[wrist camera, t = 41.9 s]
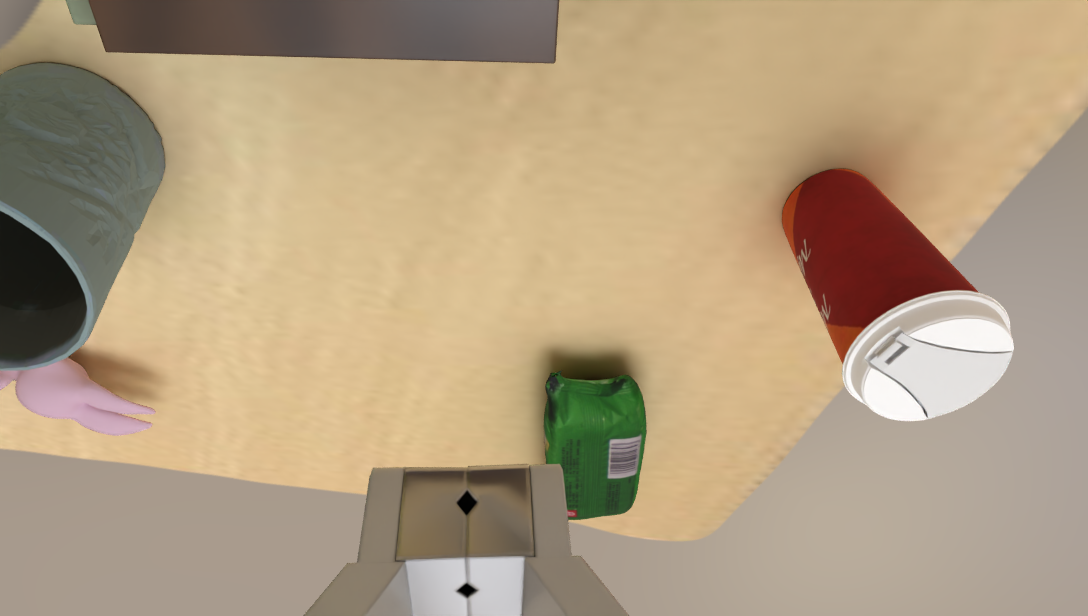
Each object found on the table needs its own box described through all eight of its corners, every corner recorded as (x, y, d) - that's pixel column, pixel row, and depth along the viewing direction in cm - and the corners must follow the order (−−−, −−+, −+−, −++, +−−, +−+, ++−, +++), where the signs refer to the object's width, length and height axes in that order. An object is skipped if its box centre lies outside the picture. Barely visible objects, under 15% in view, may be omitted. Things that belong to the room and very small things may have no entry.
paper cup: (738, 232, 45) (818, 401, 34) (823, 130, 40) (946, 286, 30) (831, 276, 47) (932, 445, 37) (920, 184, 43) (1064, 345, 33)
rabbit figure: (-67, 343, 48) (159, 429, 51) (-143, 406, 43) (111, 496, 46) (-68, 275, 44) (174, 371, 48) (-151, 335, 40) (124, 438, 43)
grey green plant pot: (107, 25, 34) (-29, 145, 25) (220, 200, 41) (144, 346, 32) (-79, 81, 36) (-273, 214, 26) (60, 242, 42) (-58, 395, 33)
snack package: (643, 342, 50) (656, 397, 46) (627, 480, 60) (637, 535, 56) (541, 346, 50) (545, 402, 46) (542, 484, 60) (546, 540, 56)
